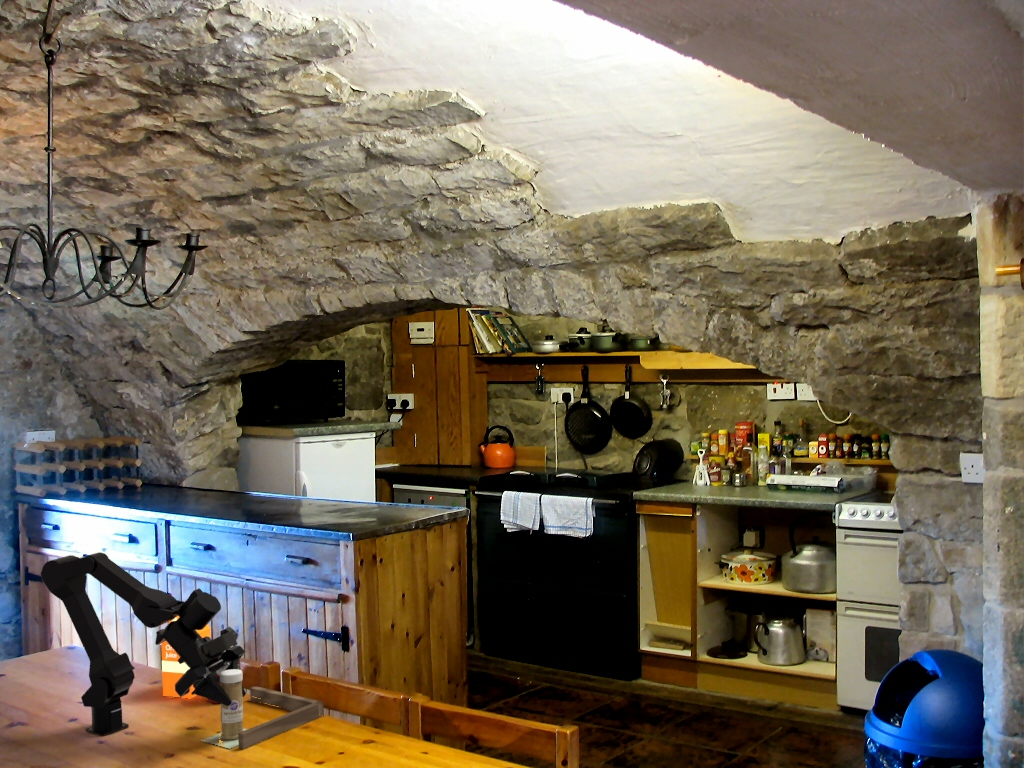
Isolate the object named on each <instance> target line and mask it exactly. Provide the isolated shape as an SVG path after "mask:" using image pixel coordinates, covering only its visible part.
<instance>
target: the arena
mask: <svg viewBox="0 0 1024 768" xmlns="http://www.w3.org/2000/svg"><path fill="white" fill-rule="evenodd" d="M249 694H250V698H249V699H250V702H253V701H254V702H253V703H257V702H261V703H267V704H270V705H275V706H279V707H281V708H283V709H282V710H285V709H286V711H289V710H290V712H288V713H285V714H283V715H280V716H278V717H275V718H273V719H270V720H269V721H268V720H267V721H265V722H263V723H260V724H257V725H255V726H253V727H251V728H245V727H243V732H240V733H238V738H237V739H230V740H228V739H223V738H221V736H219V735H220V734H222V731H220V732H218V733H216V734H213V735H211V736H209V737H206V738H203V739H201V740H200V741H201V742H202V741H203V742H204V743H206V742H207V744H209V743H210V745H212V744H215V745H214V746H216V745H218V746H217V747H219V746H220V744H221V743H220V744H219V740H221V741H223V742H222V744H221V746H223V747H225V748H224V749H226V748H228V749H227V750H229V749H230V750H232V749H234V747H235V748H237V747H238V749H240V748H241V749H240V750H246V749H248V748H251V747H253V746H255V744H256V745H257V743H258V744H260V743H262V742H261V741H263V742H265V741H267V740H269V739H268V738H270V739H272V738H274V736H275V737H277V736H279V735H281V734H280V733H282V732H284V731H286V732H288V731H287V730H289V731H291V730H293V728H294V729H296V728H298V727H300V725H301V726H303V725H306V724H307V723H310V722H312V721H315V720H317V719H319V718H322V717H324V716H325V713H324V711H325V710H324V701H321V700H316V699H312V698H307V697H305V696H304V697H303V696H300V695H299V696H298V695H295V694H291V693H286V692H281V691H278V690H273V689H269V688H264V687H260V686H251V687H250V688H249ZM252 696H254V697H257V698H254V697H252ZM258 698H261V699H258ZM261 703H260V704H261ZM281 708H280V709H281ZM319 714H320V715H319ZM322 715H323V716H322ZM295 727H296V728H295ZM290 729H291V730H290ZM284 733H285V732H284ZM278 734H279V735H278ZM282 734H283V733H282ZM276 735H277V736H276ZM271 737H272V738H271ZM219 738H220V739H219ZM266 739H267V740H266ZM264 740H265V741H264ZM224 742H225V743H224ZM223 744H224V745H223ZM236 746H237V747H236ZM231 748H232V749H231Z"/></svg>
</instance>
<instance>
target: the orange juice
mask: <svg viewBox="0 0 1024 768" xmlns="http://www.w3.org/2000/svg"><path fill="white" fill-rule="evenodd" d="M178 618H179V616H177V617H176V618H175V619H173V620H172V621H176V620H177V619H178ZM172 621H170V622H172ZM170 622H167V623H168V624H169V623H170ZM168 624H167V625H168ZM196 631H197V632H198V633H199V634H200V636H201V637H202V638H204V637H206V636H207V637H210V638H211V626H210V624H209V623H208V624H207V625H206V627H205V628H204V629H202V630H196ZM211 639H212V638H211ZM160 646H161V673H162V697H163V696H173V697H172V698H174V697H180V696H179V695H178V694H177V693H176V692H175V683H176V682H177V681H178V680H179V679H180V678H181V677H182V676H183V675H184V673H185V672H186V671H187V670H188V669H190V668H189V667H188V666H187V665H186V663H185V662H184V663H182V664H180V663H179V662H178V661H177V660H178V659H179V658H180V656H179V655H178V654H177V653H176V652H175V651H174V650H173V648H172V647H171V646H170V645H169V644H168V643H167V642H166V641H165V642H163V643H161V645H160ZM194 689H195V688H194V687H193V685H192V686H191V687H190V692H189V693H188V694H186V695H184V696H183V697H181V698H180V699H185V698H188V700H190V699H192V698H194V697H196V696H197V695H195V694H194V695H192V694H191V693H192V692H193V691H194Z"/></svg>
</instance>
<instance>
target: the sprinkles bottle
mask: <svg viewBox="0 0 1024 768" xmlns="http://www.w3.org/2000/svg"><path fill="white" fill-rule="evenodd" d="M243 676H244V675H243V670H241V669H240V670H238V669H231V670H225V671H222V672H221V673H220V682H221V683H220V684H221V687H222V688H223V690H224V691H225V692H226V694H227V695H228V697H229V698H230V700H231V701H232V703H231V705H230V706H226V705H223V704H220V723H221V732H222V734H221V738H223V739H228V740H230V739H237V738H238V733H240V732H243V728H244V727H243V726H244V725H243V724H244V723H243V722H244V706H243V704H244V703H243V702H244V701H243V700H244V699H243V698H244V697H243V696H242V685H243V679H244V678H243Z"/></svg>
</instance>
